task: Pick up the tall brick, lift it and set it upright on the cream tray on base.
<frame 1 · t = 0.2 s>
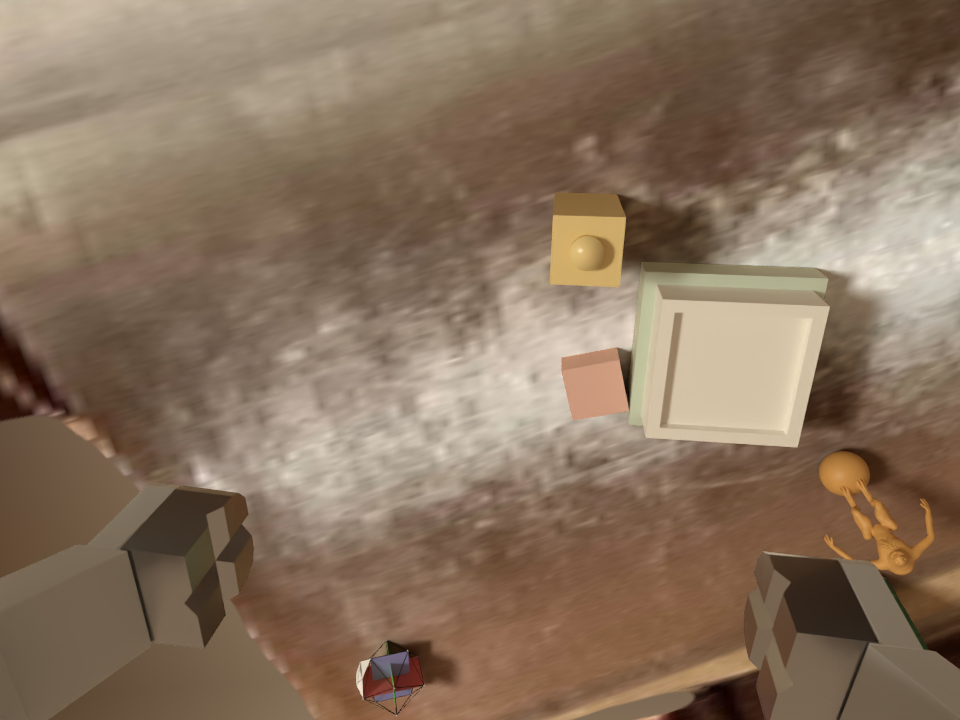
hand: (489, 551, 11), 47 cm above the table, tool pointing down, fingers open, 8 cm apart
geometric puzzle: (398, 652, 78), on the table
cream tray on base: (714, 342, 58), on the table
figurine: (839, 468, 62), on the table
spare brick: (594, 376, 61), on the table
coffee box: (847, 596, 68), on the table
tall brick: (583, 223, 55), on the table
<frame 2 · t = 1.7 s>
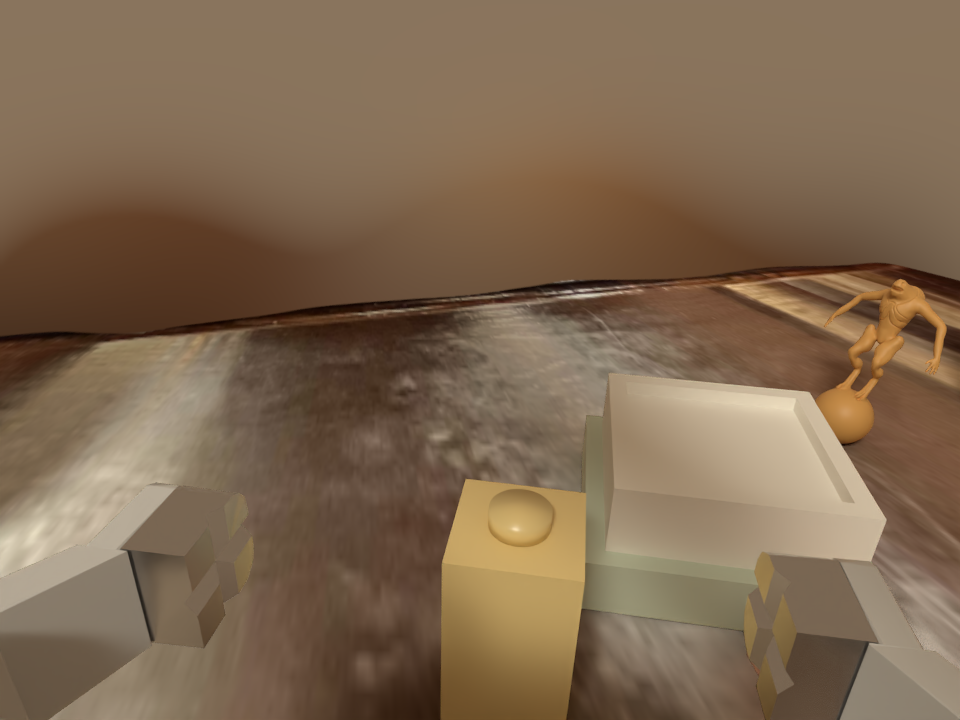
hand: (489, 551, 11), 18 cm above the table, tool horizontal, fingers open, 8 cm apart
cream tray on base: (701, 533, 39), on the table
figurine: (843, 438, 49), on the table
tall brick: (507, 685, 29), on the table
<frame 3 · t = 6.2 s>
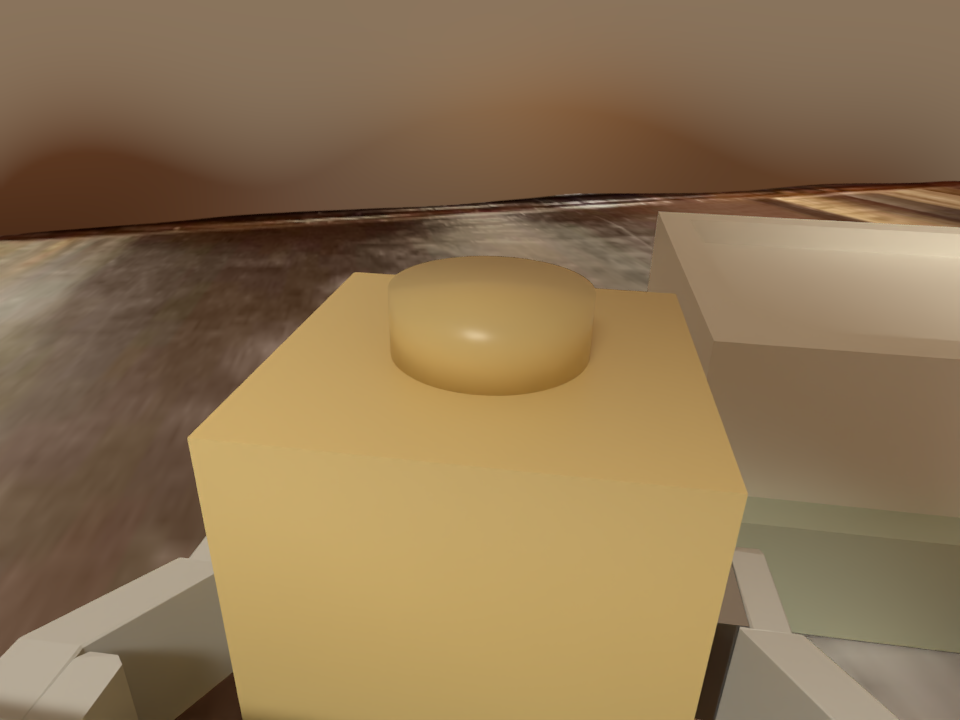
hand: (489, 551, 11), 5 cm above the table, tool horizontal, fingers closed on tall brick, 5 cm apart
cream tray on base: (837, 474, 22), on the table
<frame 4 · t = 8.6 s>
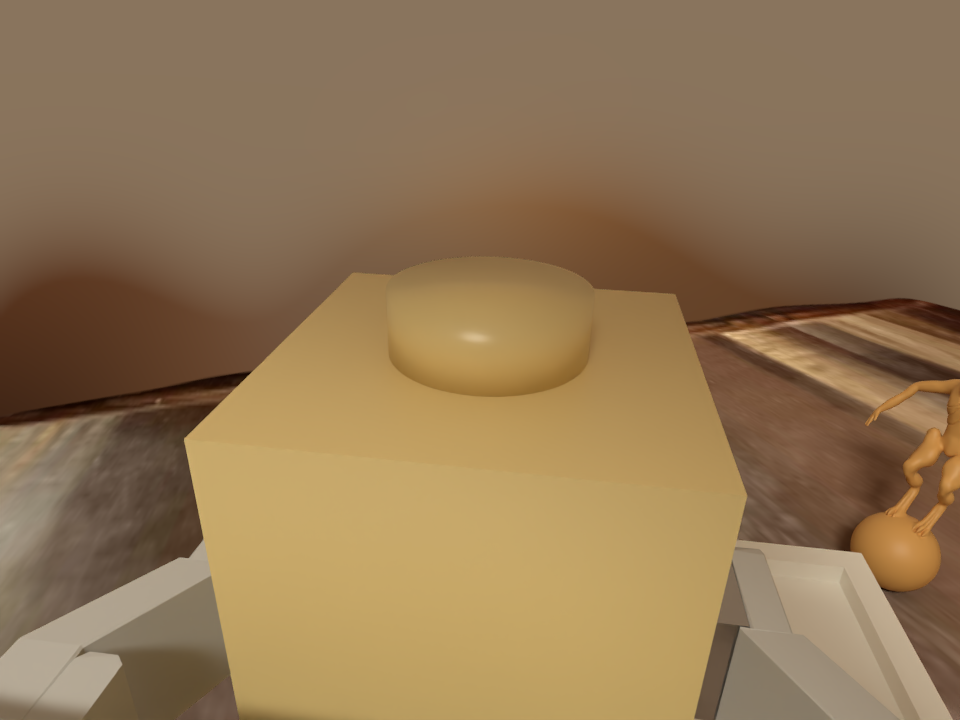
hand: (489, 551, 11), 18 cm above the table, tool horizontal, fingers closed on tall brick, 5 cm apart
figurine: (894, 577, 36), on the table
when the fingers open (12 cm above the table, at t = 11.2 s): tall brick drops 1 cm, resting on cream tray on base.
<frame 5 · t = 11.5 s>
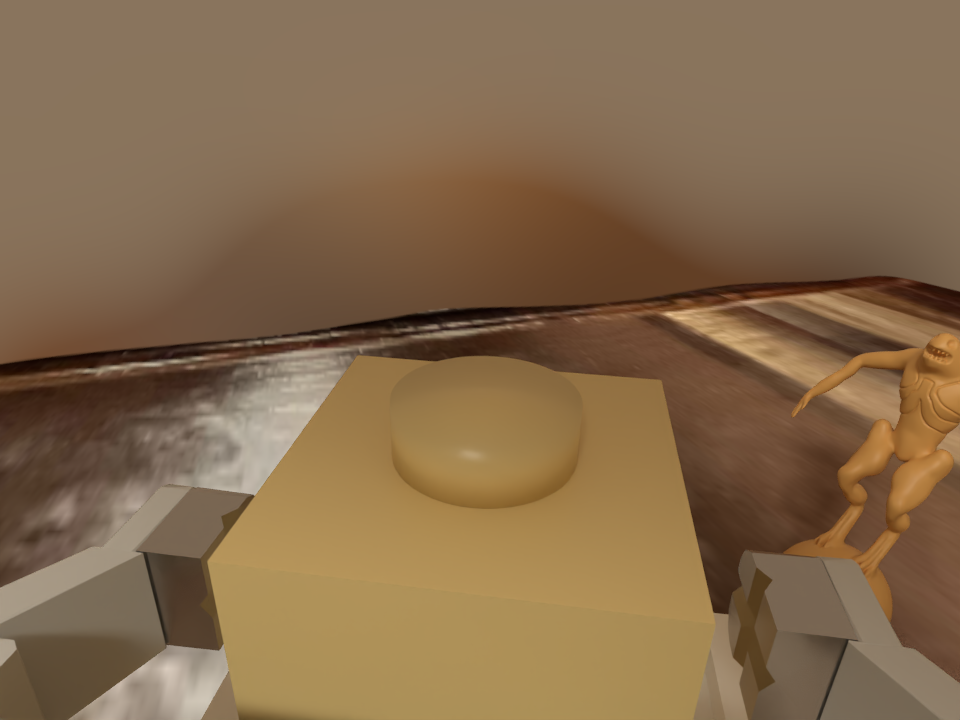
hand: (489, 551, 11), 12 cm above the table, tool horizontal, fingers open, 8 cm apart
figurine: (832, 630, 26), on the table
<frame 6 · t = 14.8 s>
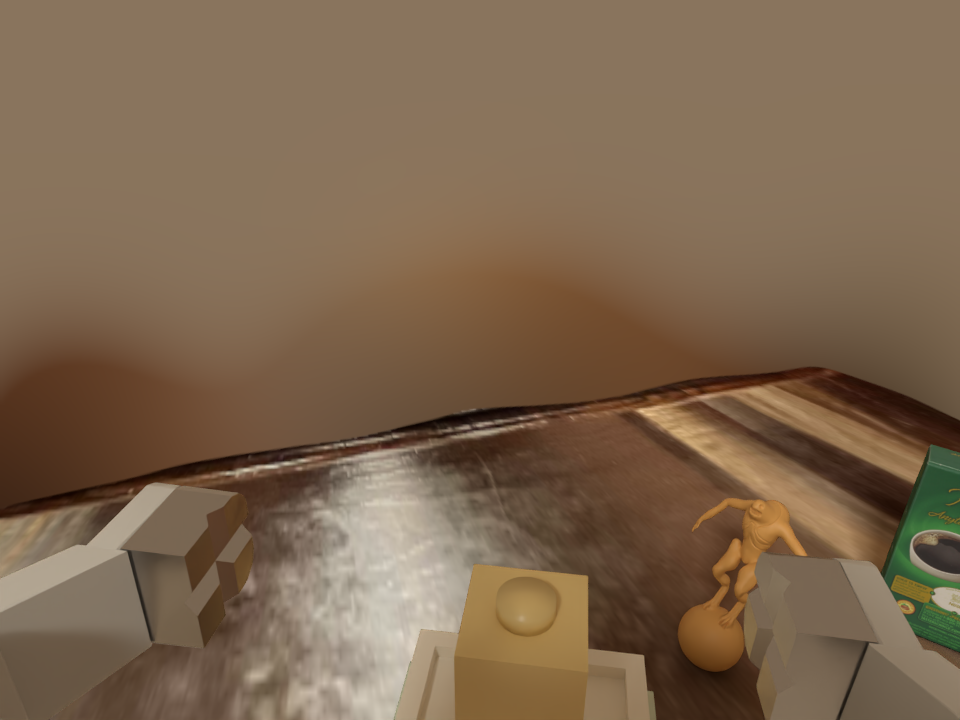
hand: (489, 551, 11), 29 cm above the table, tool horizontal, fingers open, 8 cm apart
figurine: (717, 656, 44), on the table
coffee box: (936, 634, 45), on the table
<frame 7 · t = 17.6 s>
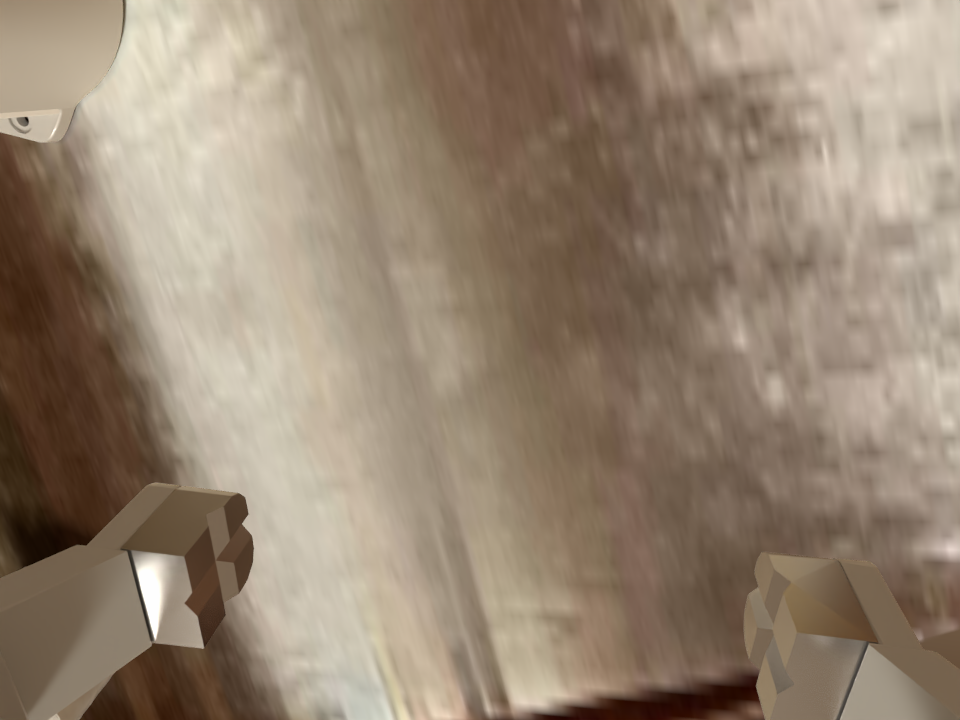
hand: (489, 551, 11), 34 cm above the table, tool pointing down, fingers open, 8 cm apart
toilet tissue: (79, 618, 66), on the table
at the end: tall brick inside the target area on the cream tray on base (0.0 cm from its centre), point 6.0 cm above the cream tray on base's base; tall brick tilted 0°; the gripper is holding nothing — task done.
